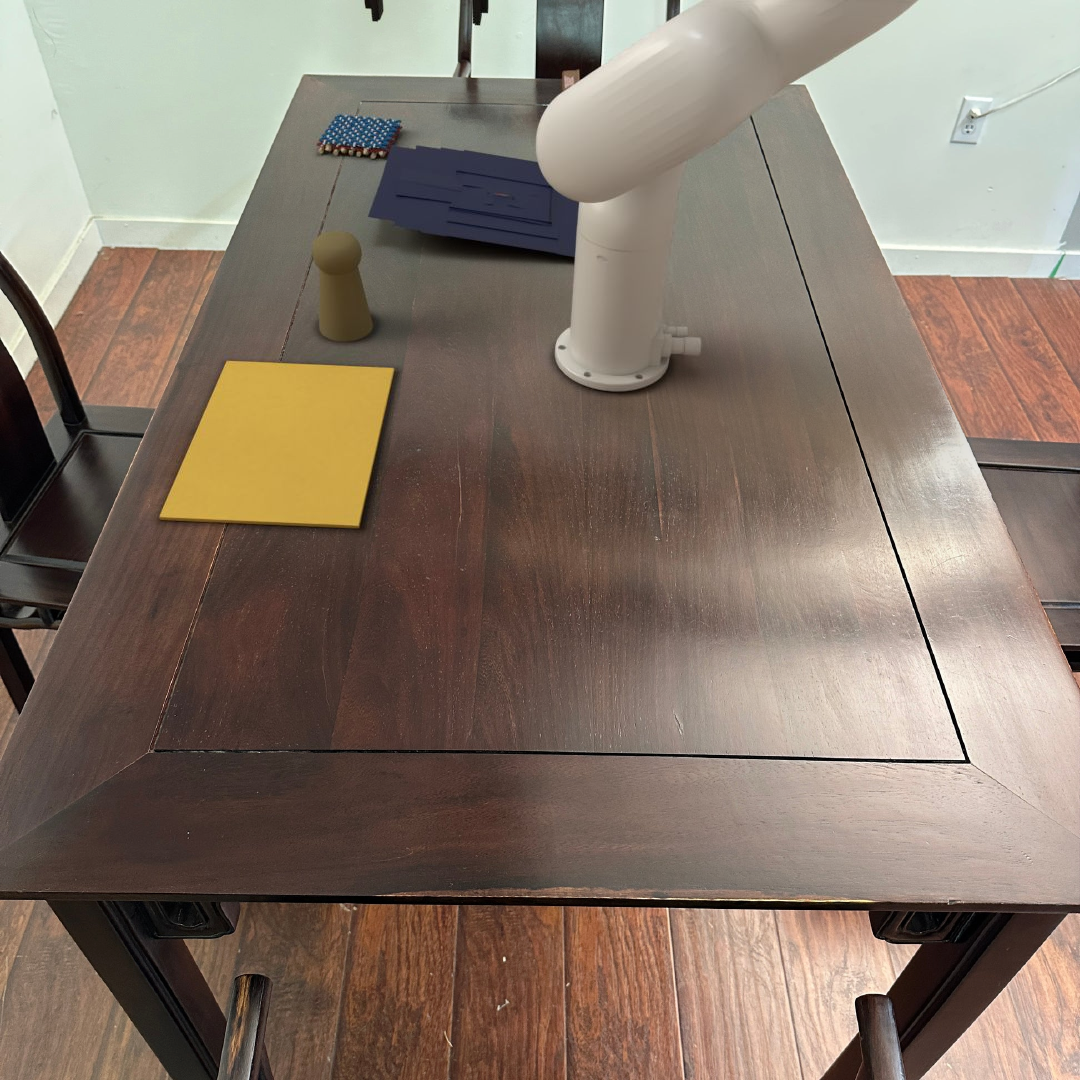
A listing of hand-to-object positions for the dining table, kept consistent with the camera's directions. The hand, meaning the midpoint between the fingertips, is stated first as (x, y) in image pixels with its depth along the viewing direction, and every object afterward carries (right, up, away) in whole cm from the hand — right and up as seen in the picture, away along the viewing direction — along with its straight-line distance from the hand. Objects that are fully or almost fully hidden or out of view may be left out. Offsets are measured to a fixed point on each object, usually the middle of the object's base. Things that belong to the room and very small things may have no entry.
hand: (427, 18), depth 93 cm
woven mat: (-16, +8, +50) cm, 53 cm away
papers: (+5, -7, +36) cm, 37 cm away
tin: (+15, +11, +53) cm, 56 cm away
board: (-14, -40, +2) cm, 43 cm away
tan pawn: (-11, -26, +16) cm, 33 cm away
